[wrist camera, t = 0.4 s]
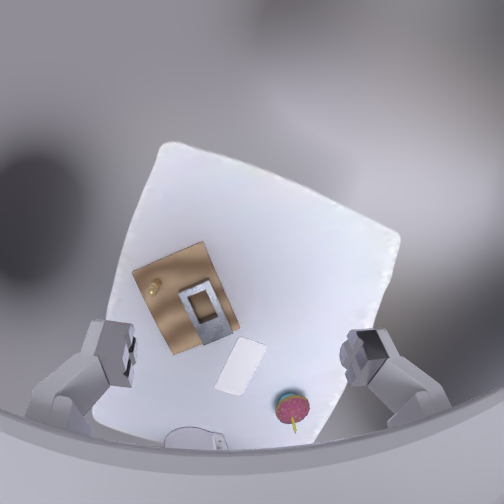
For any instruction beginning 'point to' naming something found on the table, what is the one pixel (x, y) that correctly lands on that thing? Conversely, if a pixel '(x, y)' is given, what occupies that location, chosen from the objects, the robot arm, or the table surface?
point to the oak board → (169, 303)
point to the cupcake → (292, 409)
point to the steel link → (212, 324)
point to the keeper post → (154, 287)
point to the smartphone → (240, 366)
